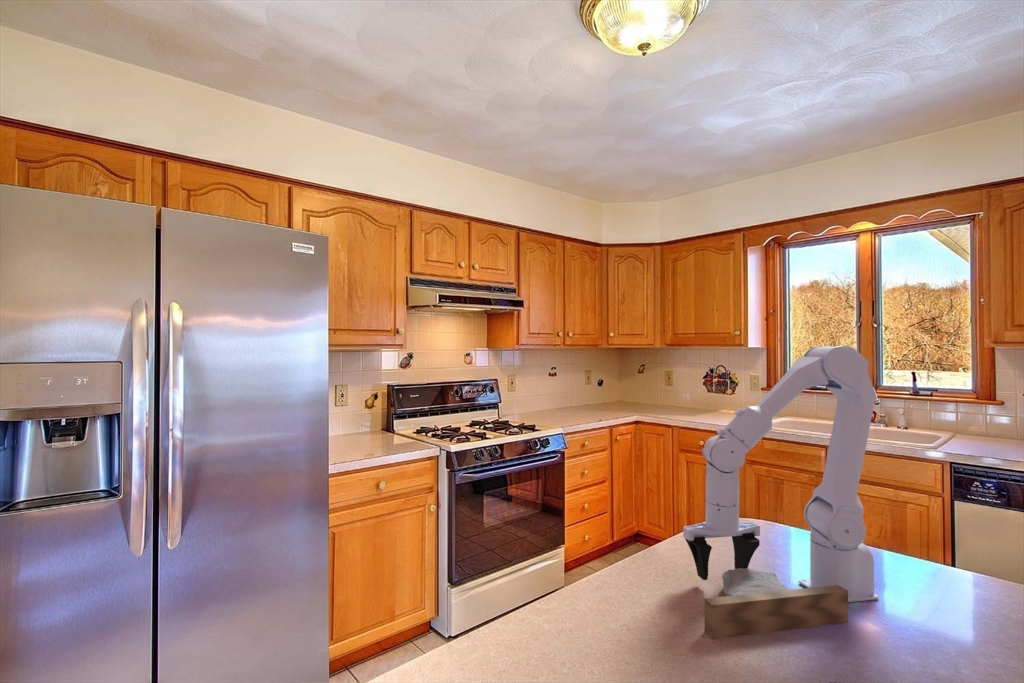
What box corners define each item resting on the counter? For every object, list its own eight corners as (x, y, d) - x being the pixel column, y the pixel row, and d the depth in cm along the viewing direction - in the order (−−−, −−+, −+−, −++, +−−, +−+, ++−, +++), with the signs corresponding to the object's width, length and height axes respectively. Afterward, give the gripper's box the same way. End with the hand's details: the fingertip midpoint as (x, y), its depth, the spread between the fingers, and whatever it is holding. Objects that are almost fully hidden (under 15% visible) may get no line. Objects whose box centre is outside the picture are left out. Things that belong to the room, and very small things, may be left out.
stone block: (736, 628, 81) (802, 621, 79) (730, 598, 81) (795, 590, 79) (719, 595, 92) (775, 588, 91) (713, 568, 93) (769, 562, 91)
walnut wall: (837, 615, 81) (837, 585, 81) (848, 622, 79) (848, 590, 79) (704, 631, 77) (704, 598, 77) (712, 638, 75) (712, 605, 75)
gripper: (743, 494, 97) (742, 563, 97) (675, 497, 95) (674, 569, 94) (768, 505, 90) (767, 580, 90) (695, 509, 88) (694, 586, 88)
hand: (721, 575), depth 92 cm, fingers open, 7 cm apart
